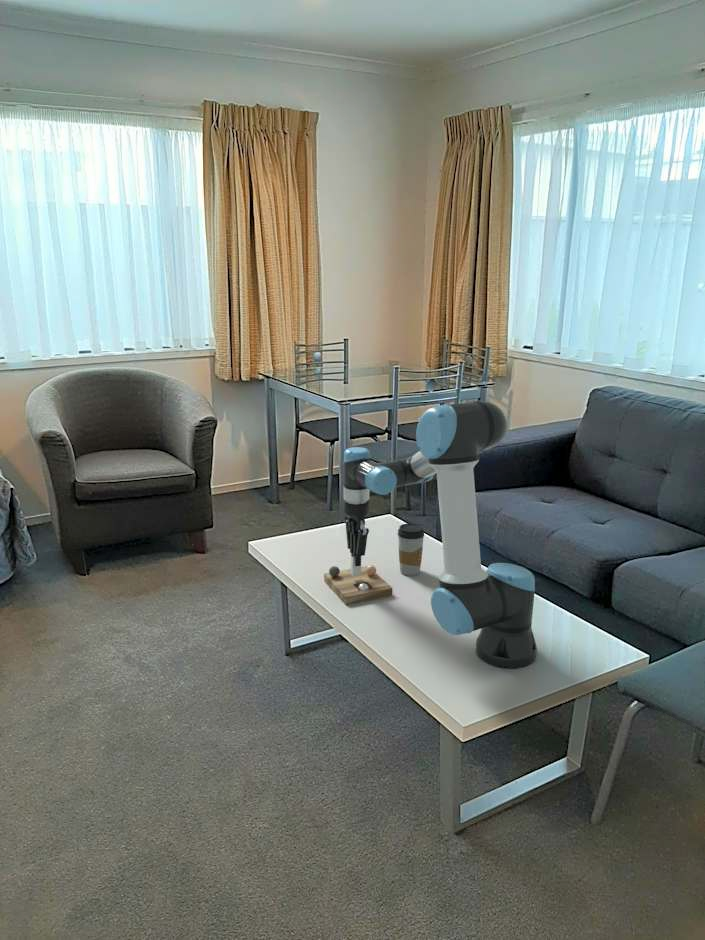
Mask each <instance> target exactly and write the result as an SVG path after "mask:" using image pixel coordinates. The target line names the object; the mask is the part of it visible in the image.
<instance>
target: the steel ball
mask: <svg viewBox="0 0 705 940" xmlns="http://www.w3.org/2000/svg"><path fill="white" fill-rule="evenodd" d="M365 589H369V586H368V585H367V584H365V583H362V584H360V585H359V586H358V590H365Z"/></svg>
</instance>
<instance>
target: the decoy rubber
mask: <svg viewBox="0 0 705 940" xmlns="http://www.w3.org/2000/svg"><path fill="white" fill-rule="evenodd" d="M340 571H341V570H340V568H339V567H338V566H336V565H335V566H331V567H330V568H329V569H328V573H330V575H331V576H333V577H336V576H338V575H339V573H340Z"/></svg>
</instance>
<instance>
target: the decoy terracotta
mask: <svg viewBox="0 0 705 940" xmlns="http://www.w3.org/2000/svg"><path fill="white" fill-rule="evenodd" d="M366 566H367V568H366V573H367V574H368V575H370V576H372V575H374V574H375V573H377V568H376V566H374V565H372V564H370V565H366Z"/></svg>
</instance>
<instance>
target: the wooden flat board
mask: <svg viewBox="0 0 705 940" xmlns="http://www.w3.org/2000/svg"><path fill="white" fill-rule="evenodd" d="M367 566H368V565H365V566H361V575H355V576H352V575H351V568H350V569H344V570H340V573H339V575H338V576H336V577H333V576H331V575H330V573H329V572H325V573H323V581H324V583H325V584H326V585H327V586H328V587H329V588H330V589H331V591H333V593H334V594H335V595H336V596H337V597H338V598H339V600H340V601H341V602H342V603H343V604H344V605H350V604H357V603H361V602H367V601H371V600H372V601H373V600H376V599H378V600H379V599H381V598H387V597H392V596H393V587H392V586H391V585H390V584H389V583H388V582H387V581H386V580H385V579H383V577H381V575H379V574H378V573H377V572H376V573H375V574H374V575H372V576H370V575H368V574H367V573H366V568H367ZM362 583H365V584H367V585H368V586H369V589H365V590H358V586H359V585H360V584H362Z"/></svg>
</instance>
